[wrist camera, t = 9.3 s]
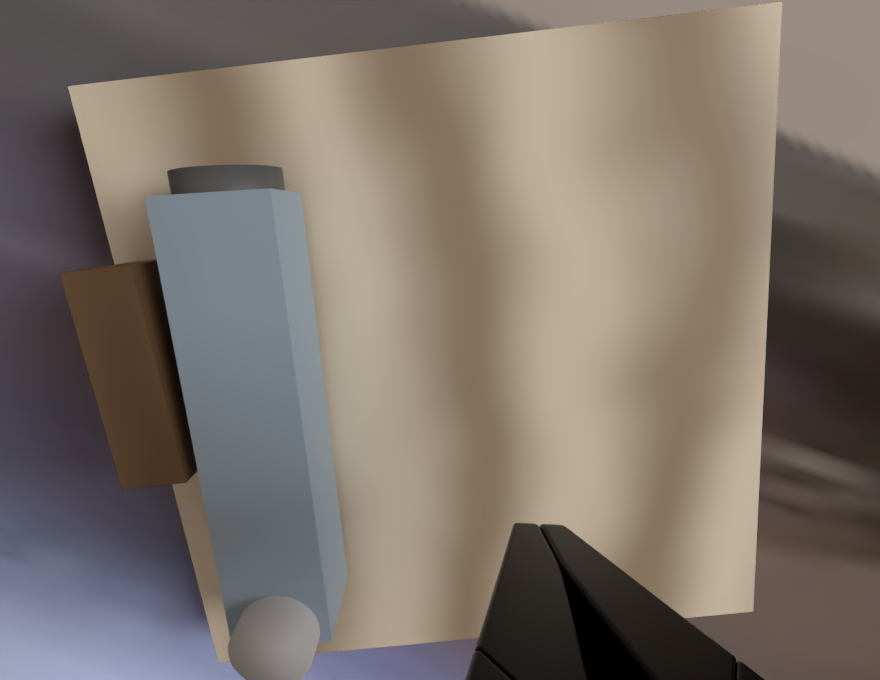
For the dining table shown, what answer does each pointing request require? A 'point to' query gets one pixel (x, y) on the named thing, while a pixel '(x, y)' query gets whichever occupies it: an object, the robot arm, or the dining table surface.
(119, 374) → the block
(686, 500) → the stool seat
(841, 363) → the dining table surface
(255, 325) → the hinged leg
